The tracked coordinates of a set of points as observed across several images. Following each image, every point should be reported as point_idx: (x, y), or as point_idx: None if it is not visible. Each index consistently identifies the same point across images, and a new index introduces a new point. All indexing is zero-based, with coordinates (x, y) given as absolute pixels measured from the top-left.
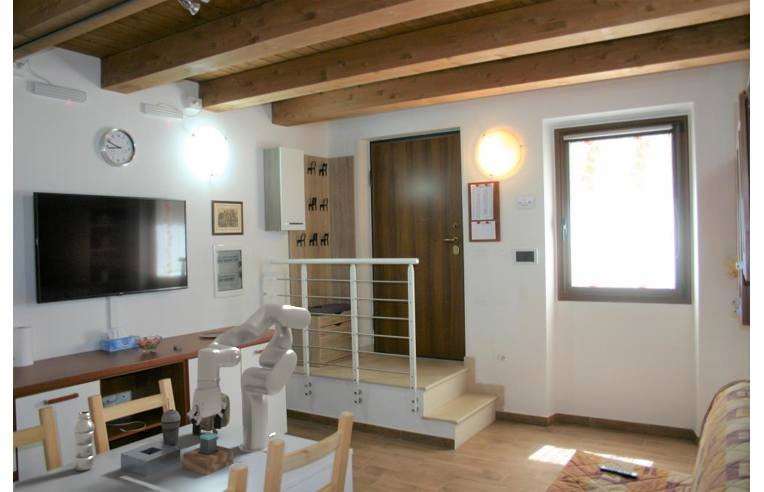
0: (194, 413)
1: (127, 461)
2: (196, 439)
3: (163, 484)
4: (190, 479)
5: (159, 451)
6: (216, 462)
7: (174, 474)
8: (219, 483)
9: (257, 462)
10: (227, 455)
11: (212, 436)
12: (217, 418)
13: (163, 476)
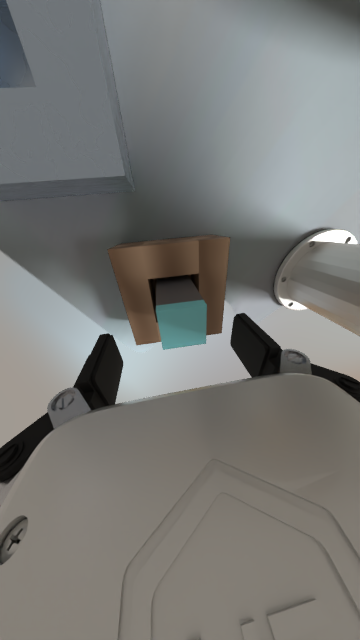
0: (79, 438)
1: None
2: None
3: (45, 279)
4: (111, 302)
5: (10, 95)
6: None
7: (91, 245)
8: (143, 350)
9: None
10: None
11: (184, 345)
12: (258, 370)
13: (58, 230)
